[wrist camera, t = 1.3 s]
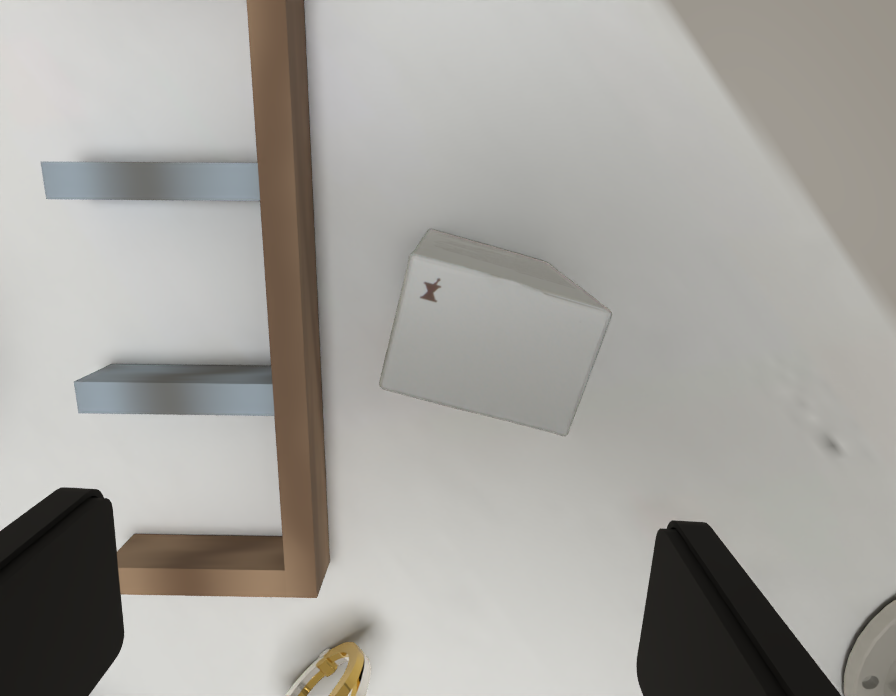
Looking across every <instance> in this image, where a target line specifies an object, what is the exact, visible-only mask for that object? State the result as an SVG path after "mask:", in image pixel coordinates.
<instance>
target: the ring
mask: <svg viewBox="0 0 896 696" xmlns="http://www.w3.org/2000/svg"><path fill="white" fill-rule="evenodd" d="M345 662H348V665H347V668H346V670H345V672H344V674H343V676H342V678H341V679H340V681H339V682H338V684H337V685H336V686H335V688H334V689H333V691H332V692H331V693H330V695H329V696H348V694H349V696H366V693H367V689H368V686H369V681H370V675H371V666H370V661H369V659H368V657H367V656H366V655H365V654H364V653H363V651H362V650H361V649H360V648H359V647H358V646H357V645H356V644H355V643H353V642H346V643H343V644H340V645H338V646H336V647H334V648H332V649H331V650H330V649H329V648H328V649H326V650H325V651H323V652H322V653H321V654H320V655H319V658H318V659H317V660H316V661H315V662H314V663H313V664H311V665H310V666H309V667H308V668H307V669H306V670H305V671H304V673H303V674H302V675H301V676H300V677H299V678H298V679H297V681H296V682H295V683H294V684H293V685H292V687H291V688H290V689H289V691H288V692H287V693H286V695H285V696H307V694H308V693H309V692H310V691H311V689H312V688H313V687H314V686H315V685H316V684H317V683H318V682H319V681H320V680H321V679H322V678H323V677H324V676H326V677H328V676H330V675H331V674H332V673H334V672H335V671H336V669H337V666H339V665H341V664H343V663H345Z"/></svg>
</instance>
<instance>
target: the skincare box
mask: <svg viewBox="0 0 896 696" xmlns="http://www.w3.org/2000/svg"><path fill="white" fill-rule="evenodd" d="M611 316H612V313H611V311H610V310H609V309H608V308H606V307H605V306H604V305H603V304H601V303H600V302H599V301H597V300H596V299H595V298H594V297H592V296H591V295H590V294H588V293H587V292H586V291H584V290H583V289H582V288H580V287H579V286H578V285H576V284H575V283H574V282H573V281H571V280H570V279H568V278H567V277H566V276H564V275H563V274H562V273H560V272H559V271H558V270H556V269H555V268H554V267H552V266H551V265H550V264H548V263H547V262H545V261H542V260H538V259H535V258H531V257H528V256H525V255H522V254H518V253H515V252H511V251H508V250H504V249H501V248H497V247H493V246H490V245H486V244H483V243H479V242H476V241H472V240H468V239H465V238H461V237H458V236H454V235H450V234H447V233H443V232H440V231H437V230H433V229H429V230H428V231H427V233H426V234H425V236H424V237H423V238H422V240H421V241H420V243H419V244H418V245H417V247H416V249H415V250H414V251H413V252H412V254H411V255H410V256H409V260H408V264H407V269H406V273H405V277H404V282H403V286H402V290H401V294H400V298H399V302H398V306H397V311H396V315H395V319H394V323H393V327H392V331H391V335H390V340H389V344H388V348H387V352H386V356H385V360H384V365H383V369H382V373H381V377H380V382H379V385H380V387H381V388H382V389H384V390H388V391H392V392H395V393H399V394H403V395H406V396H410V397H414V398H418V399H422V400H425V401H429V402H433V403H437V404H441V405H444V406H448V407H452V408H456V409H460V410H464V411H468V412H472V413H476V414H481V415H485V416H489V417H493V418H497V419H501V420H505V421H509V422H513V423H517V424H520V425H524V426H528V427H532V428H536V429H540V430H544V431H548V432H551V433H555V434H558V435H561V436H566V435H567V434H568V432H569V429H570V426H571V424H572V421H573V418H574V416H575V413H576V411H577V408H578V405H579V403H580V400H581V397H582V395H583V392H584V389H585V387H586V384H587V381H588V378H589V376H590V373H591V370H592V368H593V365H594V362H595V360H596V357H597V355H598V352H599V349H600V346H601V344H602V341H603V338H604V335H605V333H606V330H607V327H608V324H609V322H610V319H611Z"/></svg>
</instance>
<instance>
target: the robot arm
mask: <svg viewBox="0 0 896 696" xmlns="http://www.w3.org/2000/svg"><path fill="white" fill-rule="evenodd" d="M123 639H124V625H123V614H122V604H121V593H120V582H119V572H118V561H117V550H116V539H115V529H114V518H113V508H112V503H111V502H110V500H109V499H107V498H104V497H103V495H102V493H101V492H100V491H99V490H97V489H83V488H59V489H57V490H56V491H54V492H53V493H52V494H50V495H49V496H47V497H46V498H45V499H43V500H42V501H41V502H39V503H38V504H37V505H35V506H34V507H32V508H31V509H30V510H28V511H27V512H26V513H24V514H23V515H22V516H20V517H19V518H18V519H16V520H15V521H13V522H12V523H11V524H9V525H8V526H7V527H5V528H4V529H3V530H1V531H0V696H89V694H90V693H91V692H92V690H93V689H94V687H95V686H96V685H97V683H98V682H99V681H100V679H101V678H102V677H103V675H104V674H105V672H106V671H107V670H108V668H109V667H110V666H111V664H112V663H113V662H114V660H115V659H116V657H117V656H118V654H119V652H120V650H121V647H122V644H123ZM637 677H638V682H639V685H640V688H641V691H642V693H643V696H841V695H840V694H839V692H838V691H837V690H836V688H835V687H834V686H833V685H832V683H831V682H830V681H829V679H828V678H827V677H826V675H825V674H824V673H823V672H822V670H821V669H820V668H819V666H818V665H817V664H816V663H815V661H814V660H813V659H812V657H811V656H810V655H809V653H808V652H807V651H806V650H805V648H804V647H803V646H802V644H801V643H800V642H799V641H798V639H797V638H796V637H795V635H794V634H793V633H792V631H791V630H790V629H789V628H788V626H787V625H786V624H785V622H784V621H783V620H782V619H781V617H780V616H779V615H778V613H777V612H776V611H775V610H774V608H773V607H772V606H771V604H770V603H769V602H768V600H767V599H766V598H765V597H764V595H763V594H762V593H761V591H760V590H759V589H758V588H757V586H756V585H755V584H754V582H753V581H752V580H751V578H750V577H749V576H748V575H747V573H746V572H745V571H744V569H743V568H742V567H741V566H740V564H739V563H738V562H737V560H736V559H735V558H734V556H733V555H732V554H731V553H730V551H729V550H728V549H727V547H726V546H725V545H724V544H723V542H722V541H721V540H720V538H719V537H718V536H717V535H716V533H715V532H714V531H713V529H712V528H711V527H710V526H709V525H708V524H707V523H704V522H688V521H671V522H670V523H669V524H668V526H667V529H659V530H658V532H657V536H656V541H655V547H654V554H653V560H652V566H651V573H650V579H649V585H648V592H647V598H646V605H645V611H644V617H643V624H642V630H641V637H640V643H639V649H638V656H637ZM844 695H845V696H896V600H894V601H893V602H891V603H890V604H888V605H887V606H886V607H885V608H884V609H882V610H881V611H880V612H879V613H878V614H877V615H876V616H875V617H874V618H873V619H872V620H871V621H870V622H869V624H868V625H867V626H866V628H865V629H864V630H863V632H862V633H861V634H860V636H859V637H858V639H857V641H856V643H855V645H854V647H853V649H852V651H851V653H850V655H849V658H848V662H847V665H846V669H845V673H844Z"/></svg>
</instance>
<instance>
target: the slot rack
mask: <svg viewBox="0 0 896 696" xmlns="http://www.w3.org/2000/svg"><path fill="white" fill-rule="evenodd" d="M247 12H248V27H249V42H250V57H251V72H252V87H253V102H254V117H255V132H256V147H257V162H258V163H170V162H41V167H42V174H43V181H44V187H45V194H46V199H98V200H232V201H260V206H261V221H262V236H263V251H264V266H265V281H266V296H267V311H268V326H269V341H270V356H271V366H236V365H151V364H110V365H108V366H106V367H104V368H102V369H100V370H98V371H96V372H94V373H91V374H89V375H87V376H85V377H83V378H81V379H79V380H77V381H75V382H74V386H75V393H76V399H77V406H78V413H101V414H177V415H253V416H275V431H276V446H277V461H278V476H279V490H280V505H281V520H282V535H283V536H221V535H159V534H134V535H133V536H132V537H131V538H130V539H129V540H128V541H127V542H126V543H125V544H124V545H123V546H122V547H121V548H120V549H119V550H118V551H117V561H118V572H119V582H120V593H121V594H129V595H185V596H241V597H297V598H317V596H318V593H319V591H320V588H321V585H322V582H323V579H324V577H325V574H326V571H327V568H328V565H329V563H330V557H329V536H328V514H327V492H326V471H325V449H324V427H323V406H322V384H321V362H320V340H319V319H318V297H317V275H316V254H315V232H314V210H313V189H312V167H311V145H310V123H309V102H308V80H307V58H306V37H305V15H304V0H247Z"/></svg>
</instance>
